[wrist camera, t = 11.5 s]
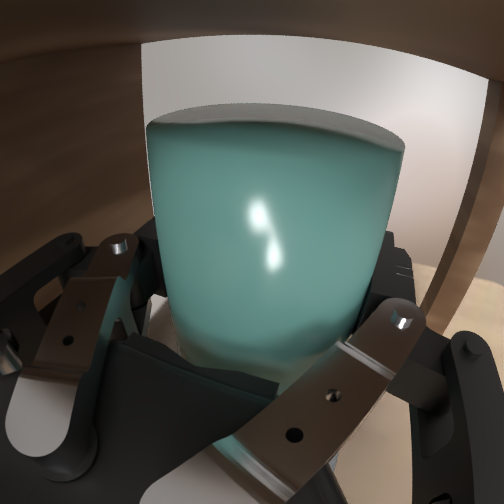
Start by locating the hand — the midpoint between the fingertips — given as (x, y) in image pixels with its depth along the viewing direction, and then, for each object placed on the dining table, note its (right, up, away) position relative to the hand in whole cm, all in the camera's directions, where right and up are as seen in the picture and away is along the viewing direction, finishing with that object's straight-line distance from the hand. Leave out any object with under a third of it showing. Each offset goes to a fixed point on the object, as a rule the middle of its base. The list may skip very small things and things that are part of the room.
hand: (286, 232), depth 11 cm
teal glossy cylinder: (-1, -7, +2) cm, 7 cm away
